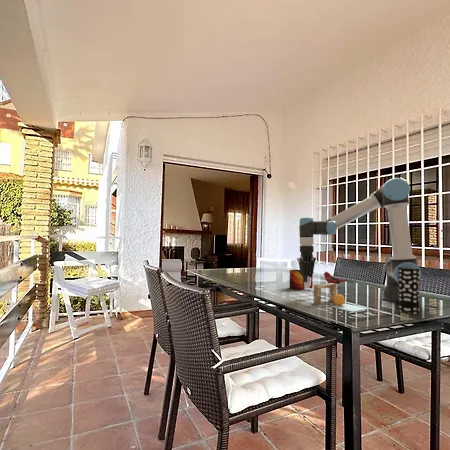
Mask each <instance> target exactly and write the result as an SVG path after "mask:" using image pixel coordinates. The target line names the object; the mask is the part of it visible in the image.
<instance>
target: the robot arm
mask: <svg viewBox="0 0 450 450" xmlns="http://www.w3.org/2000/svg"><path fill="white" fill-rule="evenodd" d="M410 190H411V188H410V185H409V183H408V181H407V180H404V179H403V178H400V177H394V178H391V179H388V180H387V181H385V183H383V184H382V185H381V186H380V187H379V188H378V189H377V190H376V191H374V192H372V193H371V194H369V195H370V196H368V197H366V198H365V199H363V200H361V201H359V202H358V203H355V204H354V205H352V206H351V207H348V208H347V209H344V210H342V211H341V212H340V213H338V214H335V215H334V216H332V217H329V218H328V219H326V220H321V221H320V220H319V221H315V220H314V218H313V217H301V218H299V226H298V227H299V229H298V230H299V245H300V246H299V252H300V257H297V262H298V266H299V267H298V268H299V270H300V273H301V275H302V276H304V288H305V289H311V288H310V286H311V277H310V276H312V275H314V272H315V271H314V269H315V264H316V260H317V257H315V256H314V254H313V253H314V252H315V251H314V250H315V249H314V247H315V246H314V244H315V243H314V235H316V236H317V235H319V236H321V235H322V236H328V235H329V236H330V235H331V236H333V235H336V234H337V230H339V229H340V228H342V227H345V226H347V225H348V224H350V223H351V222H353V221H356V220H357V219H359V218H361V217H363V216H365V215H366V214H369V213H371V212H372V211H375V210H377V209H382V208H385V209H386V211H387V217H388V218H387V219H388V225H389V226H388V227H389V233H390V241H391V242H390V243H391V249H392V256H391V257H389V258H386V263H385V265H386V284H385V285H386V286H385V289H384V291H383V294H382V300H385V301H388V302H391V303H398V268H399V267H408V268H418V269H419V281H420V280H421V278H422V271H421V268H420V267H419V266H418V258H417V256H415V255H414V254H413V249H412V241H411V234H410V226H409V217H408V211H407V210H408V209H407V207H408V205H410V198H409V194H410V192H411V191H410Z"/></svg>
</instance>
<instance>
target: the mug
mask: <svg viewBox="0 0 450 450" xmlns="http://www.w3.org/2000/svg"><path fill="white" fill-rule="evenodd" d="M313 275H314V274H313ZM313 275H312V276H310V288H309V289H311V290H312V289H314V284H313V283H314V282H313V280H314V279H313ZM289 288H290V289H289V290H292V289H293V291H304V290H305V289H306V288H304V276H302V275H301V273H300V269H289Z"/></svg>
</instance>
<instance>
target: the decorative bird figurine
mask: <svg viewBox="0 0 450 450" xmlns="http://www.w3.org/2000/svg"><path fill="white" fill-rule="evenodd" d="M323 275H324V278H325V281H326V282H327V284H328V283H334V284H337V285H339V284H340V283H342V282H346V281H347V279H340V278H339V277H336V276H334V275H333V274H331V273H330V272H328V271H324V273H323Z"/></svg>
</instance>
